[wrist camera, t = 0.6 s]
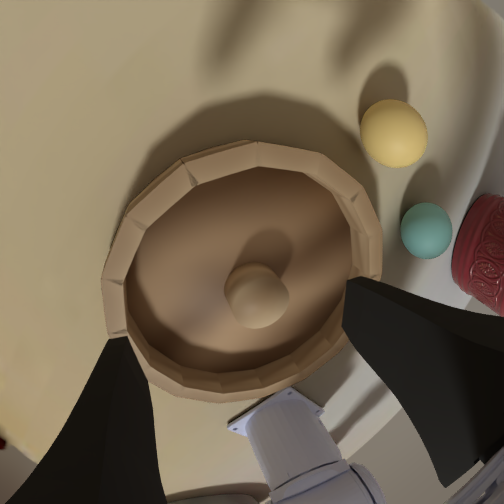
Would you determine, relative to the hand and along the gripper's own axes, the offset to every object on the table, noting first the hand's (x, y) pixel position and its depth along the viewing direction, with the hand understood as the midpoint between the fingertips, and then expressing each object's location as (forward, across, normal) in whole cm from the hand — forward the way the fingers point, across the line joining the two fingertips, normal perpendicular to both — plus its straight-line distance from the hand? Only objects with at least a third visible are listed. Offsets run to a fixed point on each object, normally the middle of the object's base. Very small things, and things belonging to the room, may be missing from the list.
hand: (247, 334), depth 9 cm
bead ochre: (+10, -13, -5) cm, 17 cm away
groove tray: (+10, -3, +4) cm, 11 cm away
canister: (+10, -33, +7) cm, 35 cm away
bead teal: (+10, -17, +3) cm, 20 cm away
